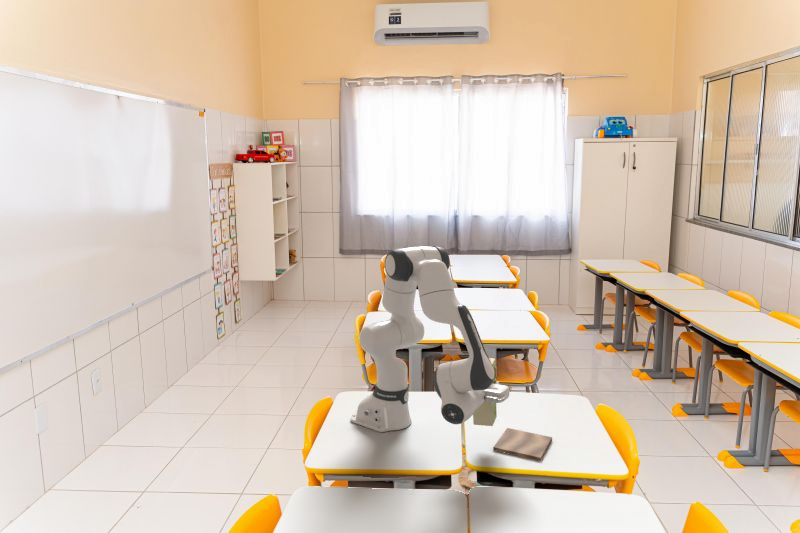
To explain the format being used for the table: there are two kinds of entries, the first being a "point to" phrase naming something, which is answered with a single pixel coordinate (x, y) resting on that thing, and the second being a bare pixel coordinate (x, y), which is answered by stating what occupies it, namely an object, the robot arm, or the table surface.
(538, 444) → the walnut platform
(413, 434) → the table surface
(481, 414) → the toy refrigerator
